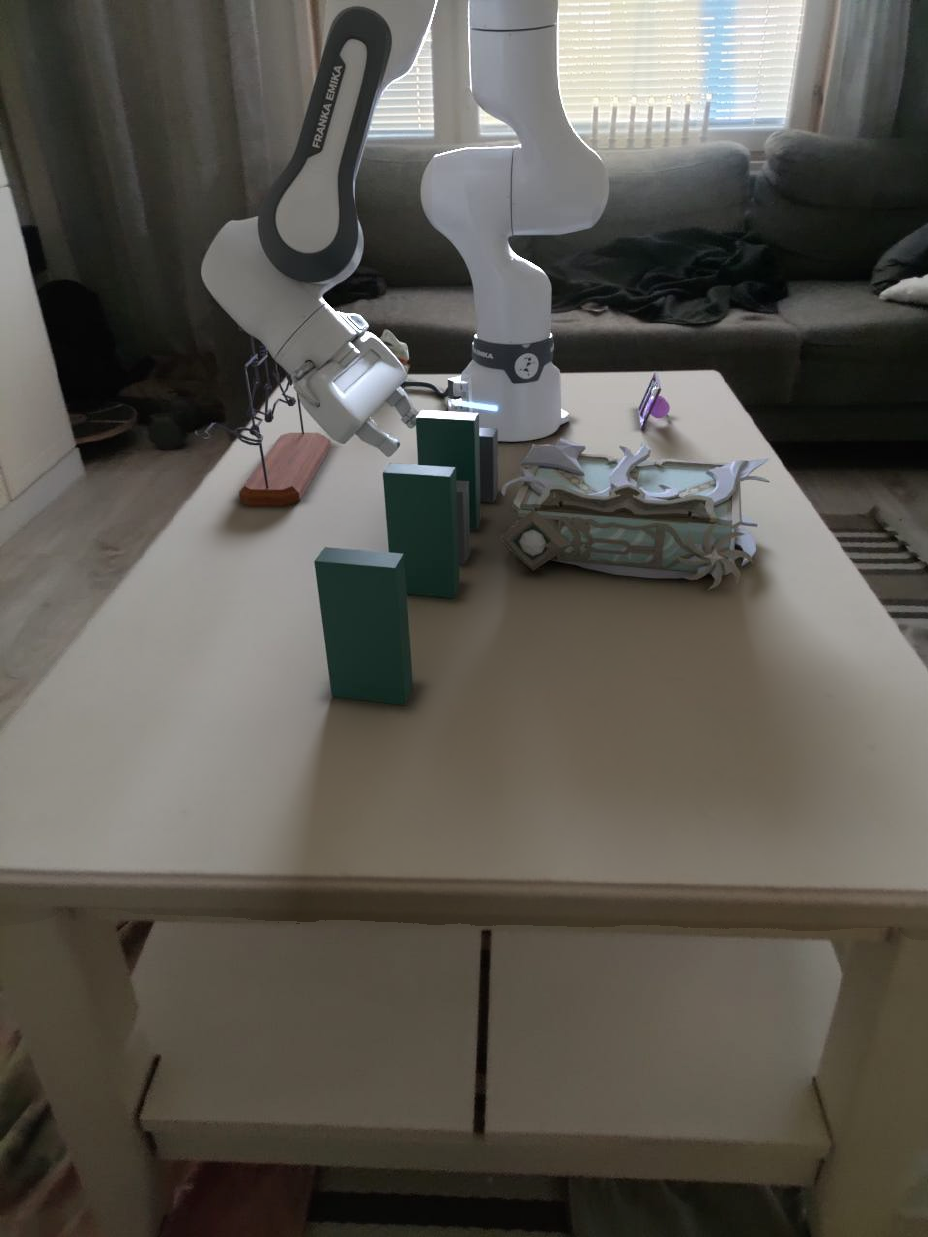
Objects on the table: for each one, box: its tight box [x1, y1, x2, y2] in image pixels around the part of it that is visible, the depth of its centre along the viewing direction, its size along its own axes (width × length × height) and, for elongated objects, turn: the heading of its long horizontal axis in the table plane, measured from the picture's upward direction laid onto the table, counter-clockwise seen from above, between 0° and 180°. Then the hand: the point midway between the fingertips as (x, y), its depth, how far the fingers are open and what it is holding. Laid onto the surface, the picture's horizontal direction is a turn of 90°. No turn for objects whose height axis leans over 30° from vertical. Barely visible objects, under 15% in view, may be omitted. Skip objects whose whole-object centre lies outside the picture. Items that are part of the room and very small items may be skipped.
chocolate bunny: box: [378, 329, 411, 388], centre depth 156 cm, size 6×8×10 cm
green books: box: [313, 462, 461, 706], centre depth 85 cm, size 22×7×14 cm, turn 167°
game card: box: [637, 371, 671, 430], centre depth 139 cm, size 7×5×9 cm
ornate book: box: [499, 437, 771, 591], centre depth 103 cm, size 23×10×30 cm
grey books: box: [456, 428, 499, 565], centre depth 108 cm, size 20×8×9 cm, turn 167°
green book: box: [415, 409, 482, 531], centre depth 107 cm, size 3×7×14 cm, turn 77°
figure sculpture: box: [194, 323, 331, 507], centre depth 117 cm, size 35×9×25 cm, turn 175°
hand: (406, 436), depth 105 cm, fingers open, 8 cm apart
